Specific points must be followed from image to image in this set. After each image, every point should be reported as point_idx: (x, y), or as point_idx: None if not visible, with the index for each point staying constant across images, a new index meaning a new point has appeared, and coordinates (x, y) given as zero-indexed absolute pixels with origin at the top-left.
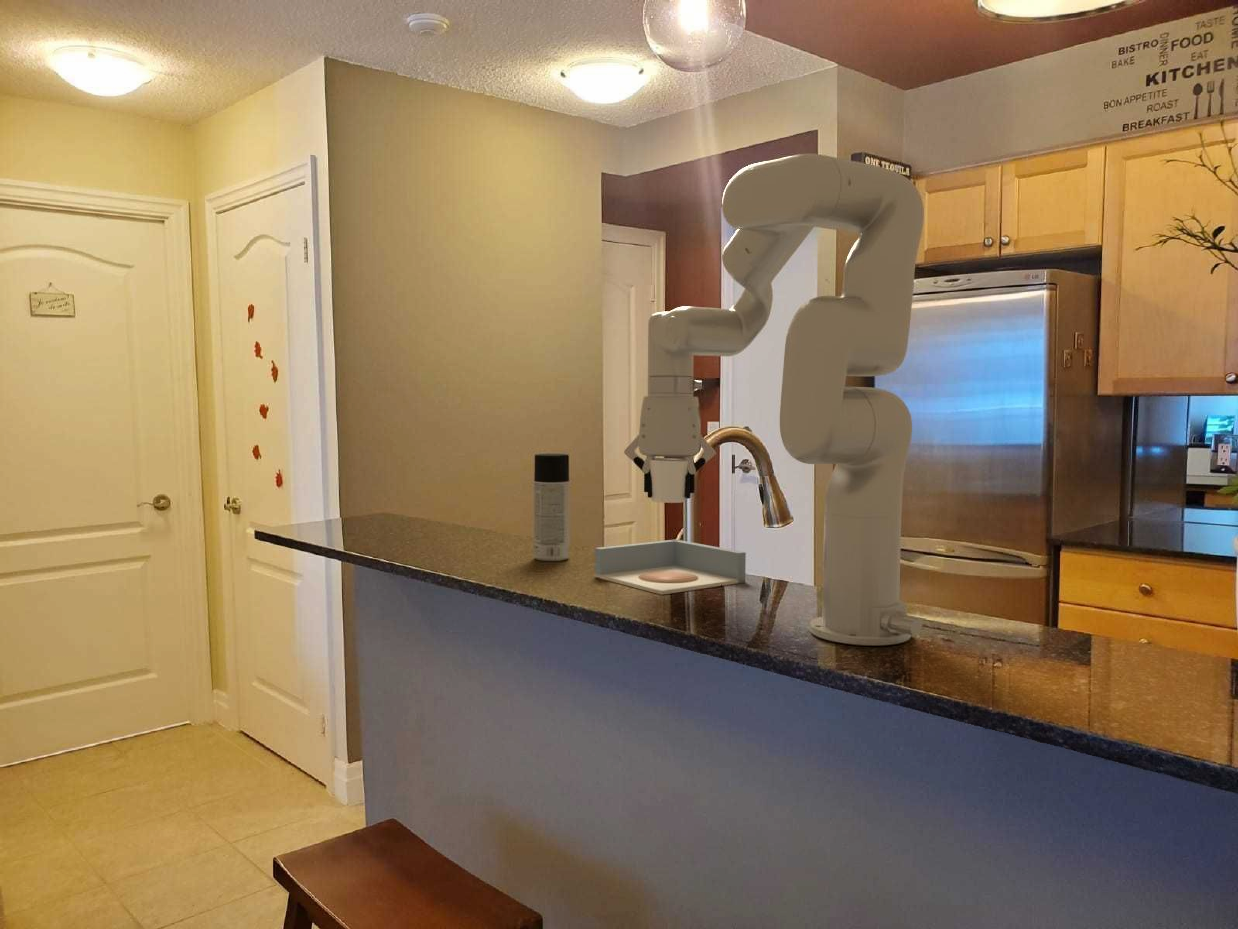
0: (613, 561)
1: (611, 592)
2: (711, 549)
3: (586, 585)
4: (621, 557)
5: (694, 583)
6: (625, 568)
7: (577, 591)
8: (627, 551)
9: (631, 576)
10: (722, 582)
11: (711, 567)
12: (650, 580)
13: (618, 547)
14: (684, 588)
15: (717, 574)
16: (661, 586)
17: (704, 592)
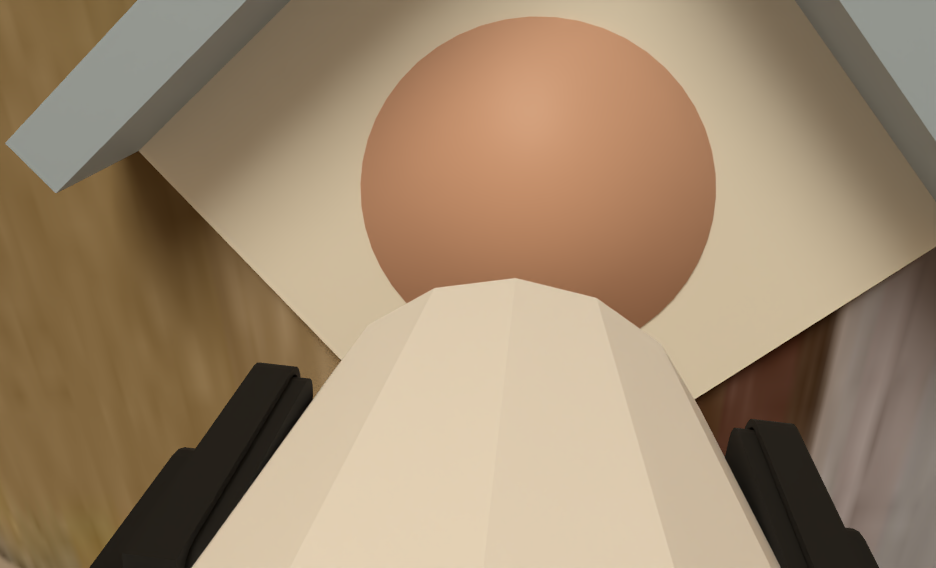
0: (169, 101)
1: None
2: (880, 62)
3: (124, 326)
4: (205, 60)
5: (673, 355)
6: (256, 30)
7: (122, 454)
8: (226, 29)
9: (320, 185)
10: (840, 304)
11: (837, 48)
12: None
13: (156, 94)
14: None
15: (857, 91)
16: None
17: None
